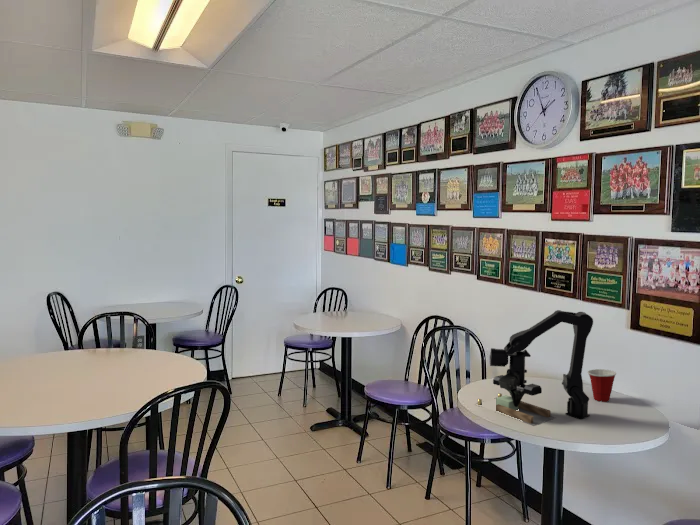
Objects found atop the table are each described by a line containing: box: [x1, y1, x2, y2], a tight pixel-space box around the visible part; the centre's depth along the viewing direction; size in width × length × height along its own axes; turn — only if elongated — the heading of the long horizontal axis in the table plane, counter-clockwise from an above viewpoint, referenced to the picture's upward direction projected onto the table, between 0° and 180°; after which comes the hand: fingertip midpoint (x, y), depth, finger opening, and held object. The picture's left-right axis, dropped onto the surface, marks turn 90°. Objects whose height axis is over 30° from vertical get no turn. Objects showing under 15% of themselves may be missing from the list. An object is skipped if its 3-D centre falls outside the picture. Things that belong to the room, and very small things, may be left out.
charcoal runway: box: [517, 408, 557, 427], centre depth 208 cm, size 28×14×1 cm, turn 35°
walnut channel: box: [496, 400, 552, 424], centre depth 205 cm, size 16×12×2 cm
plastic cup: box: [587, 368, 617, 403], centre depth 221 cm, size 11×11×12 cm
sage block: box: [496, 395, 518, 410], centre depth 211 cm, size 6×6×4 cm
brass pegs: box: [477, 392, 503, 405], centre depth 218 cm, size 2×14×2 cm, turn 125°
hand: (516, 406), depth 207 cm, fingers closed
